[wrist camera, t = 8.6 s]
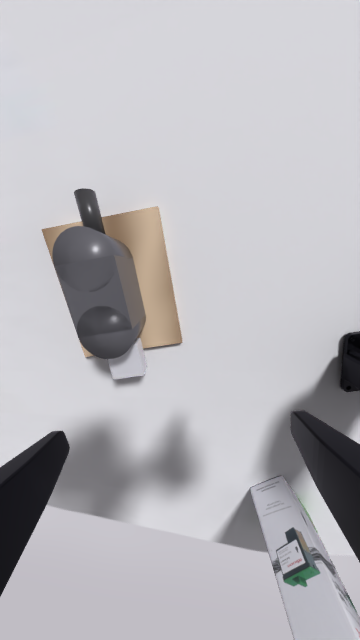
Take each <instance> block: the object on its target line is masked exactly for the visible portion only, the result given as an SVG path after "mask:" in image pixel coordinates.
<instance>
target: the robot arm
mask: <svg viewBox="0 0 360 640" xmlns="http://www.w3.org/2000/svg"><path fill="white" fill-rule="evenodd" d="M351 338H352V339H351ZM341 389H343V390H344V391H346V392H352V391H360V331H359V332H353V333H348V334H347V335H346V336H345V338H344V349H343V361H342V374H341ZM291 433H292V435H293V438H294V440H295V442H296V444H297V446H298V448H299V451H300V453H301V455H302V457H303V459H304V461H305V463H306V465H307V468H308V470H309V472H310V474H311V476H312V478H313V480H314V482H315V484H316V486H317V488H318V490H319V492H320V494H321V495H322V497H323V499H324V501H325V502H326V504H327V506H328V508H329V509H330V511H331V513H332V515H333V516H334V518H335V520H336V522H337V523H338V525H339V527H340V529H341V530H342V532H343V534H344V536H345V537H346V539H347V541H348V543H349V544H350V546H351V548H352V550H353V551H354V553H355V555H356V557H357V558H358V560H359V562H360V444H358V443H357V442H355V441H353V440H352V439H350V438H349V437H347V436H345V435H344V434H342V433H340V432H339V431H337V430H335V429H334V428H332V427H331V426H329V425H327V424H326V423H324V422H322V421H321V420H319V419H318V418H316V417H314V416H313V415H311V414H309V413H308V412H306V411H304V410H297V411H292V412H291ZM69 449H70V447H69V443H68V441H67V438H66V436H65V433H64V432H63V431H53V432H51V433H49V434H48V435H46V436H45V437H43V438H42V439H41V440H39V441H38V442H36V443H35V444H33V445H32V446H31V447H29V448H28V449H26V450H25V451H23V452H22V453H20V454H19V455H18V456H16V457H15V458H13V459H12V460H10V461H9V462H8V463H6V464H5V465H3V466H2V467H0V596H1V594H2V592H3V590H4V588H5V586H6V584H7V582H8V580H9V578H10V576H11V574H12V572H13V570H14V568H15V566H16V564H17V562H18V560H19V559H20V556H21V555H22V552H23V551H24V548H25V546H26V545H27V543H28V541H29V539H30V537H31V535H32V533H33V530H34V529H35V527H36V524H37V522H38V521H39V519H40V516H41V514H42V512H43V511H44V509H45V507H46V505H47V503H48V500H49V498H50V496H51V494H52V491H53V489H54V487H55V484H56V482H57V479H58V477H59V475H60V472H61V470H62V468H63V465H64V463H65V460H66V458H67V456H68V453H69Z"/></svg>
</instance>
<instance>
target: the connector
mask: <svg viewBox="0 0 360 640" xmlns="http://www.w3.org/2000/svg"><path fill="white" fill-rule="evenodd" d="M74 195H75V198H76V202H77V205H78V209H79V212H80V216H81V220H82V223H83V226H74V227H70V228H68V229H66V230H64V231H63V232H62V233H61V234H60V235H59V236H58V237H57V239H56V240H55V243H54V246H53V251H52V258H53V263H54V267H55V270H56V273H57V276H58V278H59V281H60V284H61V287H62V290H63V293H64V296H65V299H66V302H67V305H68V308H69V311H70V314H71V317H72V320H73V323H74V326H75V329H76V332H77V335H78V338H79V340H80V342H81V344H82V345H83V347H84V348H85V349H86V350H87V351H88V352H90V353H91V354H93V355H94V356H97V357H99V358H103V359H107V360H108V363H109V367H110V370H111V373H112V377H113V380H114V379H121V378H128V377H135V376H143V375H145V372H146V369H147V363H146V359H145V355H144V351H143V346H142V342H141V338H137V337H138V335H139V334H140V332H141V331H142V329H143V328H144V326H145V323H146V314H145V309H144V305H143V301H142V296H141V292H140V287H139V283H138V278H137V274H136V269H135V265H134V260H133V256H132V254H131V252H130V250H129V249H128V247H127V246H126V245H125V244H124V243H122V242H121V241H119V240H117V239H115V238H112V237H110V236H108V235H106V234H105V230H104V226H103V222H102V218H101V214H100V210H99V206H98V202H97V198H96V194H95V192H94V191H93V190H91V189H78V190H76V191H75V192H74Z"/></svg>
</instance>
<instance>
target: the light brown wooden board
mask: <svg viewBox="0 0 360 640" xmlns="http://www.w3.org/2000/svg"><path fill="white" fill-rule="evenodd" d="M101 218H102V222H103V226H104V230H105V234H106V235H108V236H110V237H112V238H115V239H117V240H119V241H121V242H122V243H124V244H125V245H126V246H127V247H128V249H129V250H130V252H131V254H132V256H133V260H134V265H135V269H136V274H137V278H138V283H139V287H140V292H141V296H142V301H143V305H144V309H145V314H146V323H145V326H144V328H143V329H142V331H141V332H140V334H139V335H138V337H137V338H141V342H142V346H143V348H150V347H156V346H163V345H170V344H176V343H182V336H181V330H180V325H179V319H178V314H177V308H176V302H175V297H174V291H173V285H172V280H171V274H170V269H169V263H168V257H167V252H166V246H165V241H164V235H163V229H162V224H161V218H160V212H159V208H158V206H157V207H152V208H147V209H142V210H137V211H131V212H126V213H121V214H116V215H111V216H106V217H101ZM74 226H83V223H82V221H81V222H76V223H71V224H66V225H61V226H56V227H51V228H46V229H42V232H43V235H44V238H45V241H46V244H47V247H48V250H49V253H50V256H51V259H52V261H53V258H52V251H53V246H54V243H55V240H56V239H57V237H58V236H59V235H60V234H61V233H62V232H63V231H64V230H66V229H68V228H70V227H74ZM53 264H54V263H53ZM58 279H59V278H58ZM59 282H60V281H59ZM60 285H61V284H60ZM61 288H62V287H61ZM62 291H63V290H62ZM63 294H64V293H63ZM64 297H65V296H64ZM65 300H66V299H65ZM80 343H81V342H80ZM81 346H82V349H83V352H84V355H85V357H90V356H94V355H93V354H91V353H90V352H88V351H87V350H86V349H85V348H84V347H83V345H82V344H81Z"/></svg>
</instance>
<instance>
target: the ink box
mask: <svg viewBox="0 0 360 640" xmlns="http://www.w3.org/2000/svg"><path fill="white" fill-rule="evenodd" d="M250 491H251V495H252V498H253V502H254V505H255V509H256V512H257V515H258V519H259V522H260V526H261V529H262V532H263V536H264V539H265V543H266V546H267V549H268V553H269V556H270V559H271V562H272V566H273V569H274V573H275V576H276V580H277V583H278V586H279V590H280V593H281V596H282V600H283V603H284V607H285V611H286V614H287V617H288V621H289V624H290V628H291V631H292V634H293V638H294V640H360V617H359V615H358V613H357V611H356V609H355V607H354V605H353V603H352V601H351V599H350V597H349V595H348V593H347V591H346V589H345V587H344V585H343V583H342V581H341V579H340V577H339V575H338V573H337V571H336V569H335V567H334V565H333V563H332V561H331V559H330V557H329V555H328V553H327V551H326V549H325V547H324V545H323V543H322V541H321V538H320V537H319V535H318V533H317V531H316V529H315V526H314V524H313V522H312V520H311V518H310V516H309V514H308V512H307V511H306V509H305V508H304V506H303V505H302V503H301V502H300V501H299V499H298V498H297V496H296V495H295V493H294V492H293V490H292V489H291V487H290V486H289V484H288V483H287V482H286V480H285V479H284V477H283V476H279V477H276V478H273V479H271V480H268V481H266V482H263V483H261V484H258V485H256V486H253V487H251V488H250Z"/></svg>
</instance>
